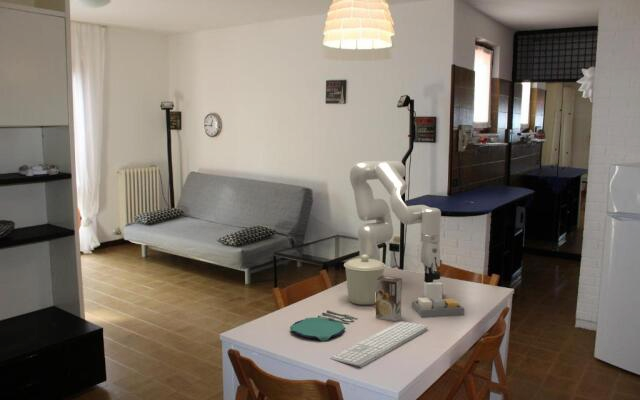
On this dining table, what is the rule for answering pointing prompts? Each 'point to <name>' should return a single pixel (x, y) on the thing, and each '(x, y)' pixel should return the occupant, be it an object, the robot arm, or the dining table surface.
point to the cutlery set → (321, 326)
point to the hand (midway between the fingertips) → (428, 281)
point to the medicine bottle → (433, 286)
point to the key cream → (425, 303)
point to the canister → (363, 279)
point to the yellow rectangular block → (450, 303)
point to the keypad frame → (437, 311)
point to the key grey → (438, 302)
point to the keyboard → (379, 343)
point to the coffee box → (388, 298)
